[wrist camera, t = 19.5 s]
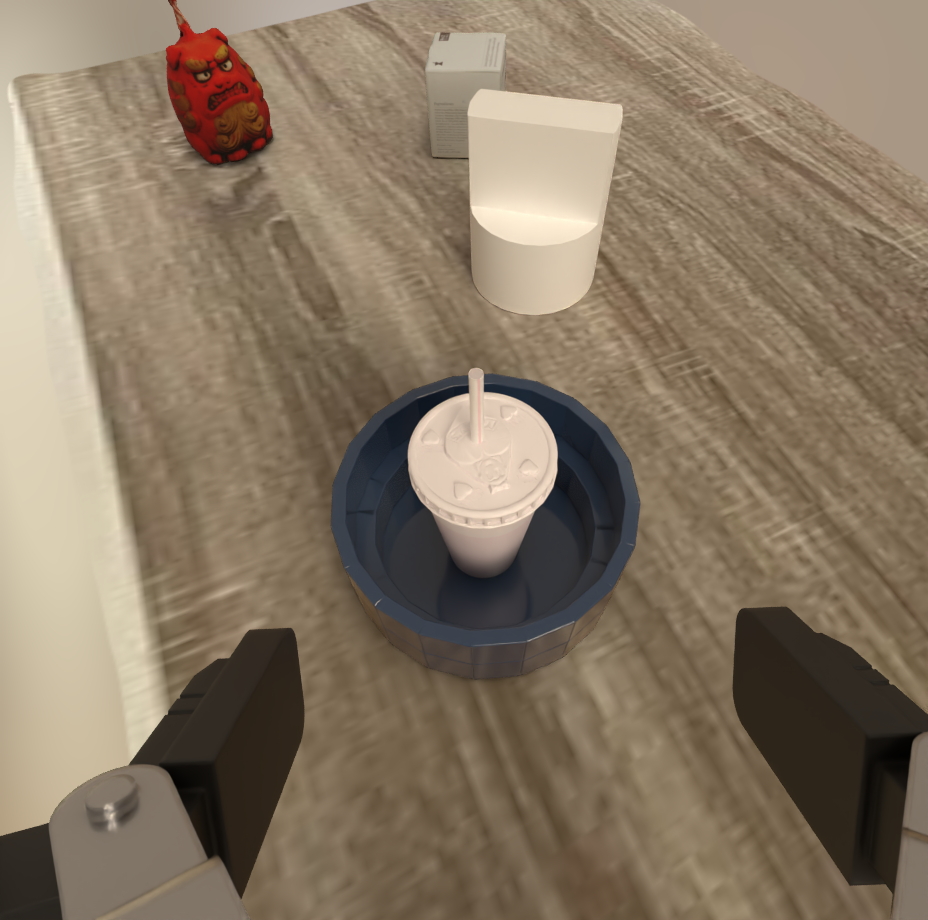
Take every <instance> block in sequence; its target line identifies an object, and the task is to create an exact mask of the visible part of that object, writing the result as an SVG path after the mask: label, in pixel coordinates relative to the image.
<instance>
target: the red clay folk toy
mask: <svg viewBox="0 0 928 920" xmlns="http://www.w3.org/2000/svg"><path fill="white" fill-rule="evenodd" d="M168 1H169V3H170V5H171V6H172V7H173V10H174V13H175V17H176V20H177V24H178V28H179V30H180V39H179V41H178V42H177V43H176V44H175V45H171V46H169V47H167V48H166V52H167V56H166V60H167V62H168V63H167V83H168V91H169V95H170V99H171V102H172V105H173V108H174V110H175V112H176V115H177V118H178V119H179V121H180V123H181V125H182V127H183V130H184V133H185V136H186V138H187V140H188V142H189V143H190V144H191V146H192V147H193V148H194V149H195V150H196V151H198V152H199V153H200V155H201V156H203V158H204V159H205V160H207V161H208V162H210V163H211V164H217V165H219V164H222V163H224V162H229V161H231V162H233V161H239V160H241V159H243V158H244V157H246V156H247V154H248V153H251V152H255V151H260V150H261V149H263V148H264V147H265V146H266V145H267V144H268V143H269V142H270V141H271V140H272V138H273V135H272V129H271V126H270V114H269V108H268V105H267V103H266V101H265V99H264V98H263V89H262V86H261V84H260V83H259V82H258V81H257V80H256V78H255V75H254V72H253V70H252V68H251V67H250V66H249V65H248V64H247V63H245V62H244V61H243V60H242V58H241V57H240V56H239V55H238V54H237V52H236V51H235V50H234V49H232V48H231V47H230V46H229V45H228V40H227V38H226V36H225V35H224V34H223V33H221V32H220V31H219V30H218V29H217V28H211V29H210V30H207V31H206V32H204V33H199V34H196V33H194V32H193V31H192V30H191V29H190V26H189V24H188V22H187V21H186V19H185V18H184V16H183V15H182V13H181V12H180V10H179V9H178V7H177V3H176V0H168Z"/></svg>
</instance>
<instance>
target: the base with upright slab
mask: <svg viewBox="0 0 928 920" xmlns="http://www.w3.org/2000/svg"><path fill="white" fill-rule="evenodd" d="M621 124H622V106H621V105H620V104H611V103H603V102H594V101H585V100H576V99H567V98H558V97H550V96H541V95H532V94H523V93H514V92H505V91H497V90H488V89H480V90H479V91H477V93H476V94H475V95H474V97H473V98H472V100H471V101H470V104H469V108H468V151H469V190H470V229H471V267H472V277H473V282H474V285H475V286H476V288H477V290H478V291H479V293H480V294H481V295H482V296H483V297H484V298H485V299H487V300H488V301H489V302H490V303H492V304H493V305H495V306H497V307H499V308H501V309H503V310H506V311H510V312H514V313H517V314H526V315H542V314H551V313H555V312H558V311H561V310H564V309H567V308H569V307H570V306H572V305H574V304H575V303H577V302H578V301H580V300H581V299H582V298H583V296H584V295H585V294H586V293H587V292H588V291H589V288H590V286H591V284H592V281H593V277H594V271H595V266H596V261H597V255H598V250H599V244H600V239H601V233H602V228H603V222H604V217H605V212H606V206H607V201H608V195H609V190H610V184H611V179H612V173H613V168H614V162H615V157H616V152H617V146H618V141H619V135H620V130H621Z"/></svg>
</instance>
